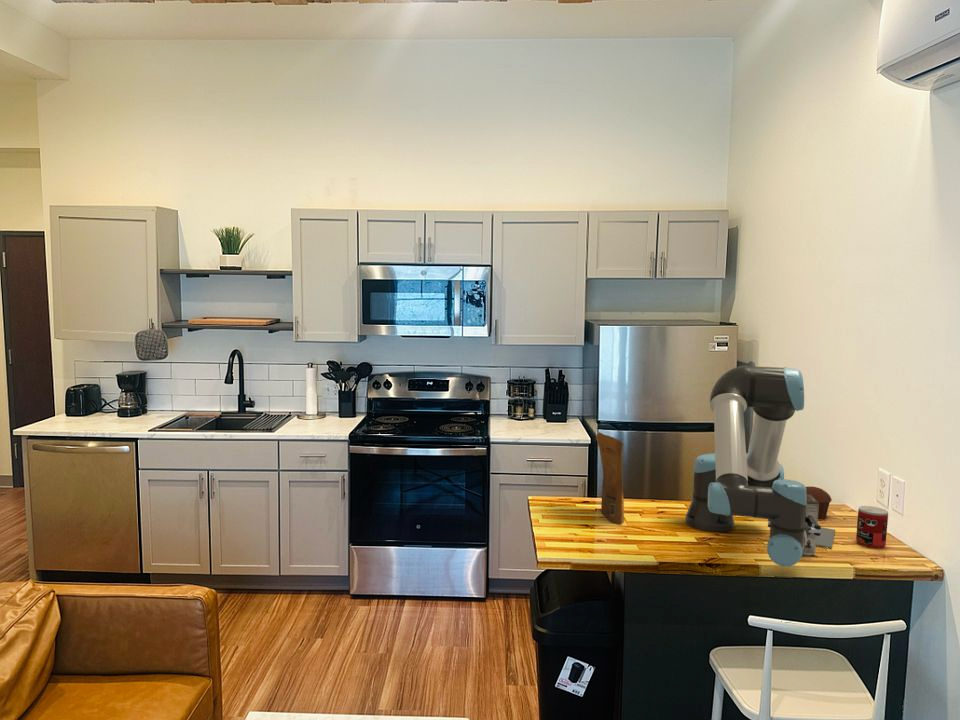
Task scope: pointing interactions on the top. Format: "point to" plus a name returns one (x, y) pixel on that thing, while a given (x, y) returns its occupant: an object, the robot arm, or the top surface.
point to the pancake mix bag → (611, 478)
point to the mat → (825, 537)
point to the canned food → (872, 527)
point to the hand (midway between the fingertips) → (800, 511)
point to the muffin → (820, 500)
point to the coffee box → (811, 510)
